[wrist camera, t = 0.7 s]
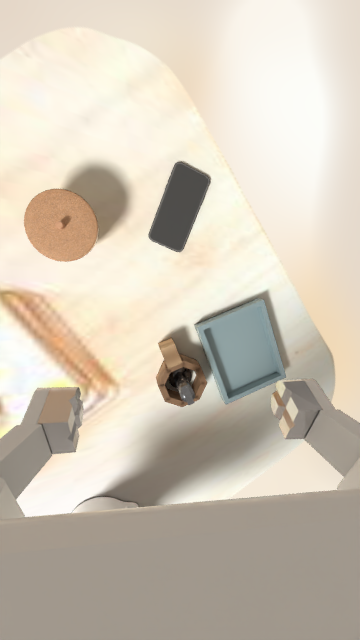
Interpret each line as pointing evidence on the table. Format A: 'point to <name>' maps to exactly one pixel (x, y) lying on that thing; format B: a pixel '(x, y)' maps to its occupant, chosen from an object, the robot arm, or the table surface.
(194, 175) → the smartphone
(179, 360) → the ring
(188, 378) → the stake
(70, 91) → the table surface
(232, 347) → the tray
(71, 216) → the lidded jar
